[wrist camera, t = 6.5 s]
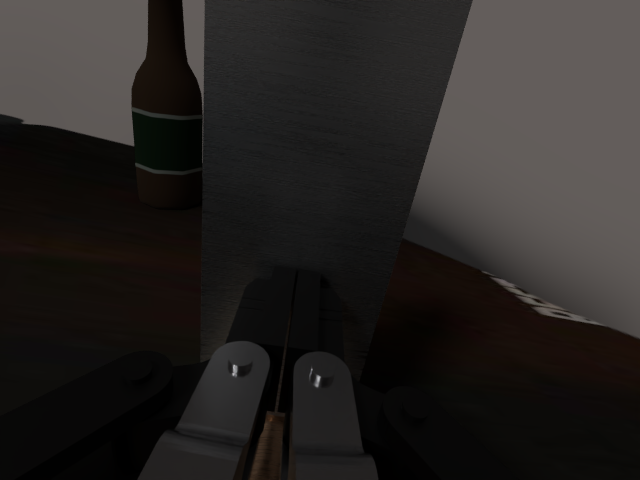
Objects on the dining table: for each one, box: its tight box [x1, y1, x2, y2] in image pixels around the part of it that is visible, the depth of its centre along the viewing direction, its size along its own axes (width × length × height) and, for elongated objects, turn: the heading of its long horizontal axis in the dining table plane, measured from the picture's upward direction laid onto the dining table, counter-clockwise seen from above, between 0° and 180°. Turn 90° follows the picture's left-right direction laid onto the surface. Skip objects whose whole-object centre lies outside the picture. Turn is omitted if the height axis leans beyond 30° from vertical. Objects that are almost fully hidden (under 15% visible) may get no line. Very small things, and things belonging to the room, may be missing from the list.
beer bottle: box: [132, 0, 203, 210], centre depth 40 cm, size 8×8×24 cm
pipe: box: [250, 414, 285, 480], centre depth 20 cm, size 32×3×3 cm, turn 178°
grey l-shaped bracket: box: [201, 0, 473, 417], centre depth 15 cm, size 6×6×20 cm
